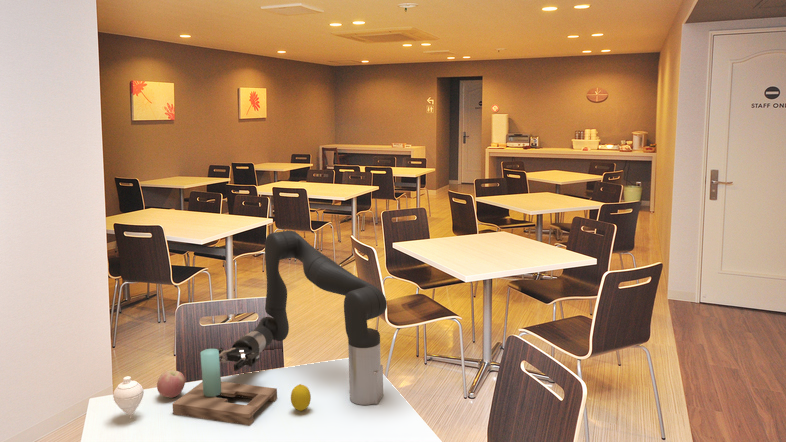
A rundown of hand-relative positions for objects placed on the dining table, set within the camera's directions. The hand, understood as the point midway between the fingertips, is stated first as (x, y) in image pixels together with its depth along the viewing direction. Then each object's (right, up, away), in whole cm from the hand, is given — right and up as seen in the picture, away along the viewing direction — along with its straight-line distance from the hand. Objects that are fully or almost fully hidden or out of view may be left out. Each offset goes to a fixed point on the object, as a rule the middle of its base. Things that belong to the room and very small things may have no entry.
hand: (222, 366), depth 176 cm
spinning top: (-22, -12, -11) cm, 27 cm away
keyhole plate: (+3, -10, -5) cm, 12 cm away
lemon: (+25, -11, -8) cm, 28 cm away
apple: (-15, -10, +1) cm, 18 cm away
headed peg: (-1, -10, -4) cm, 11 cm away
